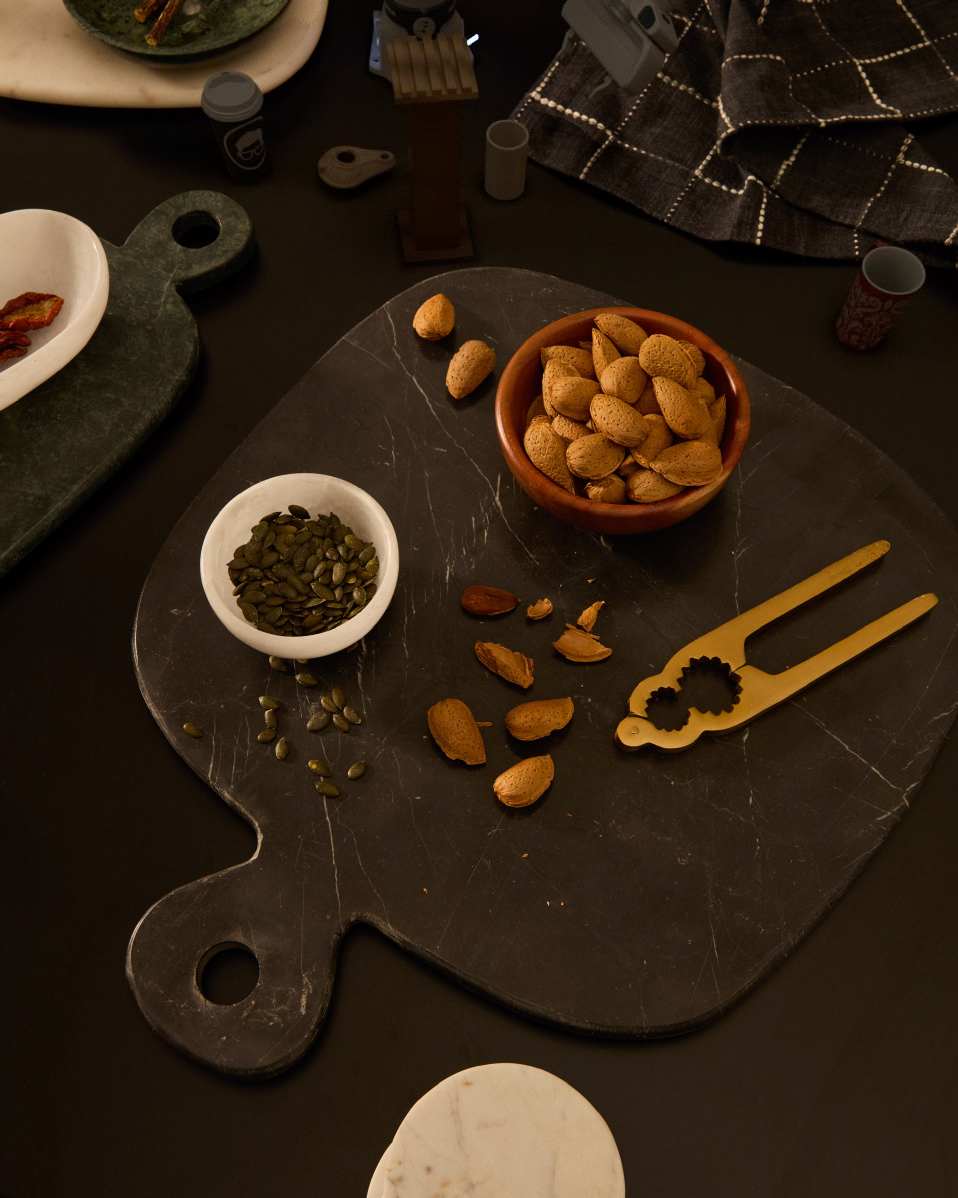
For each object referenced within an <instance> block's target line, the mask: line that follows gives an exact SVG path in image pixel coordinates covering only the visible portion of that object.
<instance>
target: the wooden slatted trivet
mask: <svg viewBox="0 0 958 1198" xmlns="http://www.w3.org/2000/svg"><path fill="white" fill-rule="evenodd" d="M407 40H408V42H402V38H401V37H393V43H387V44H386V47H387V55H388V61H389V67H390V73H391V79H392V83H391V84H392V89H393V97H394V102H395V106H396V105H397V106H401V105H405V104H414V103H426V102H439V101H451V100H461V101H462V100H474V99H479V88H478V83H477V79H476V75H475V70H474V64H473V65H472V60H471V56H470V51H469V49H470V47H469V45H468V42H467V41H468V38H467V37H466V36H464V37H463V38H461V35H460V32H455V33H451V38H450V39H446V34H445V33H441V34H437V40H432V38H431V34H428V35H422V41H417V38H416V35H414V36H407Z"/></svg>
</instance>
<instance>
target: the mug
mask: <svg viewBox="0 0 958 1198" xmlns="http://www.w3.org/2000/svg"><path fill="white" fill-rule="evenodd" d="M926 275H927V274H926V269H925V267H924V265H923V263H922V262H921V260H920V259H919V258H918V257H917V256H916V255H914V253H912V252H910V251H909V250H906V249H903V248H901V247H898V246H889V244H888V243H887V242H883V241H877V242H876V241H875V242H874V243H872V244H871V246H870V247H869V248H868V250H867V252H866V255H865V256H864V258H863V259H862V263H861V266H860V268H859V271H858V274H857V276H856V278H855V280H854V282H853V285H852V288H851V289H850V291H849V293H848V296H847V297H846V300H845V302H844V305H843V306H842V309H841V311H840V312H839V313H840V314H839V316H838V317H837V319H836V322H835V326H834V329H835V330H834V331H835V335H836V337H837V338H838V339H839V341H840V342H841V343H842V344H844V345H845V346H846V347H849V348H850V349H854V350H857V351H867V350H873V348H875V347H877V346H878V345H879V344H880V343H881V341H882V340H883V339H884V337H885V336H886V334H887V333H888V331H889V330H890V328H891V327H892V326H893V325H894V324H895V322H896V320H897V318H898V317H899V316H900V314H901V313H902V312H903V310H904V309H905V308H906V306H907V305H908V304H909V302H910V301H911V299H912V298H913V297H914V295H915V294H916V292H917V291H918V290H920V289H921V288H922V287H923V285H924V284H925V281H926Z"/></svg>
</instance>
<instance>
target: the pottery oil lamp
mask: <svg viewBox="0 0 958 1198" xmlns="http://www.w3.org/2000/svg"><path fill="white" fill-rule="evenodd" d="M396 163H397V160H396V157H395V155H394V153H392V152H390V151H389V150H383V149H377V150H376V149H365V148H360V147H358V146H357V147H356V146H351V145H342V146H341V145H340V146H335V147H331V148H330V149H329V150H328V151H326V152H324V153H323V155H322V156H321V157H320V159H319V160H318V162H317V172H318V176H319V178H320V179H321V180H322V181H323V182H324V183H325V184H326V185H327V186H329V187H331V188H335V189H338V190H352V189H356V188H358V187H360V186H361V185H362V184H363V183H364V182H367V181H369V180H371V179H373V178H376V177H378V176H381V175H383V174H386V173H387V172H390V170H392V168H394V167H395V165H396Z"/></svg>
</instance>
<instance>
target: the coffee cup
mask: <svg viewBox="0 0 958 1198" xmlns="http://www.w3.org/2000/svg"><path fill="white" fill-rule="evenodd" d="M263 103H264V95H263V92H262V90H261V88H260V87H259V86H258V84H257V83H256V82H255V81H254V80H253V78H252V77H250V76H249V75H248V74H246V73H244V72H241V71H234V70H227V71H221V72H218V73H215V74H213V75H212V76H211V77H209V78H208V79H207V81H206V82H205V84H204V85H203V90H202V91H201V96H200V106H201V109H202V111H203V112H204V113H205V114H206V115H207V117H208V119H209V122H210V125H211V128H212V130H213V133H214V136H215V139H216V141H217V144H218V146H219V151H220V153H221V156H222V158H223V161H224V163H225V166H226V169H227V172H228V174H229V176H230V178H232V179H233V180H234V181H236V182H239V183H242V184H250V183H251V184H252V183H256V182H258V181H260V180H262V179H263V178H264V177H265V176H266V174H267V172H268V167H269V166H268V159H267V149H266V140H265V130H264V121H263V120H264V119H263V110H262V106H263V105H264V104H263Z"/></svg>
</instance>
